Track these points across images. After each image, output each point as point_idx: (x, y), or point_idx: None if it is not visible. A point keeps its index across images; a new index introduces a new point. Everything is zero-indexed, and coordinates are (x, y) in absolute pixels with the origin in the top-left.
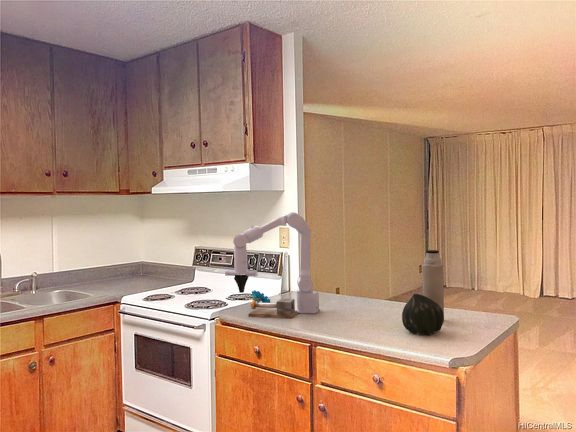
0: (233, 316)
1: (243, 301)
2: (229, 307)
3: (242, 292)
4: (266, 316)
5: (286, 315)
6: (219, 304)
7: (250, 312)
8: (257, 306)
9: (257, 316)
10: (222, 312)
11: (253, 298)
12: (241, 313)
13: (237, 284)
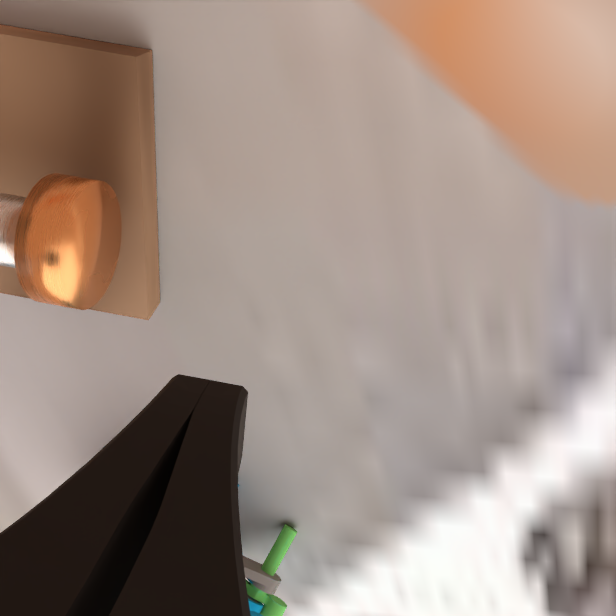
0: (376, 46)
1: (388, 608)
2: (494, 466)
3: (171, 379)
4: None
5: None
6: (610, 562)
7: (133, 132)
8: (5, 194)
9: (11, 26)
10: (567, 275)
11: (266, 587)
12: (300, 220)
13: (228, 566)
